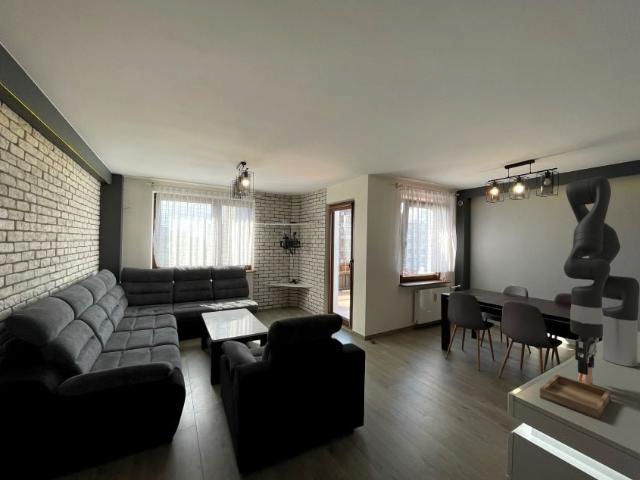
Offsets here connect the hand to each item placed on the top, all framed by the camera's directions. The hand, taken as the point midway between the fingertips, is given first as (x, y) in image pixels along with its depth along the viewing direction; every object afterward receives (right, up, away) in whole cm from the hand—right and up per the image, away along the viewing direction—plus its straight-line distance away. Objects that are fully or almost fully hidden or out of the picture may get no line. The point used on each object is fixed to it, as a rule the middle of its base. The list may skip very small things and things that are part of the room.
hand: (586, 370), depth 86 cm
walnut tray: (-11, -4, -8) cm, 15 cm away
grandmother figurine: (0, -5, 0) cm, 5 cm away
